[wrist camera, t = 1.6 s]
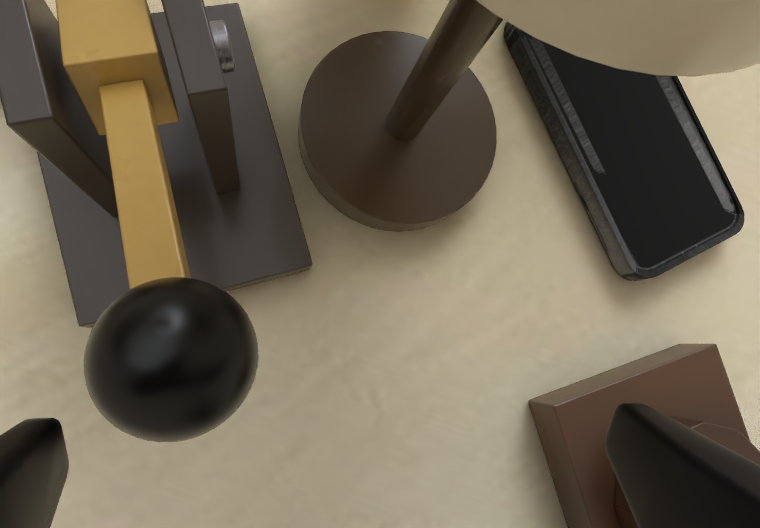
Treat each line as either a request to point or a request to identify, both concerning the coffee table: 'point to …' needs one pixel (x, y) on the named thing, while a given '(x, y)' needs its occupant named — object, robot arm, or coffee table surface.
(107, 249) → the lamp switch
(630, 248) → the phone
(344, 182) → the lamp
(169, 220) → the lever
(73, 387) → the coffee table surface
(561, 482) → the switch box
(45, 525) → the robot arm
